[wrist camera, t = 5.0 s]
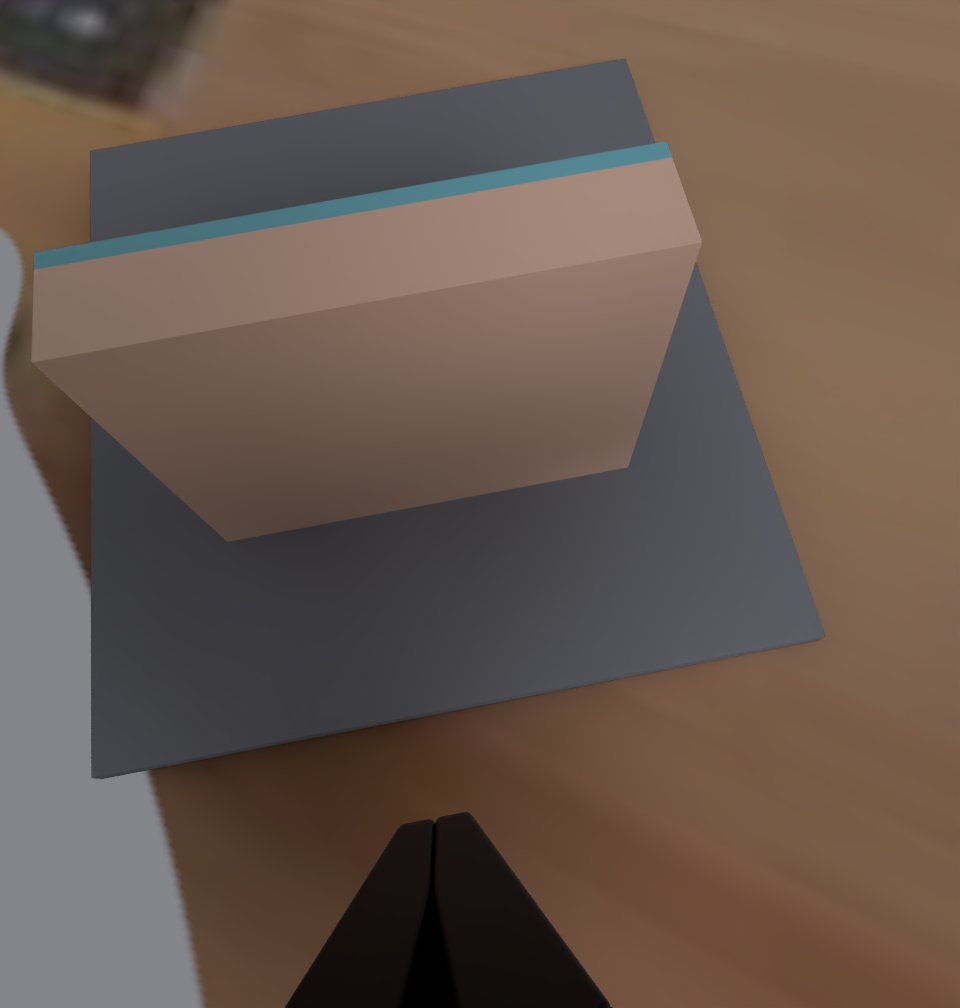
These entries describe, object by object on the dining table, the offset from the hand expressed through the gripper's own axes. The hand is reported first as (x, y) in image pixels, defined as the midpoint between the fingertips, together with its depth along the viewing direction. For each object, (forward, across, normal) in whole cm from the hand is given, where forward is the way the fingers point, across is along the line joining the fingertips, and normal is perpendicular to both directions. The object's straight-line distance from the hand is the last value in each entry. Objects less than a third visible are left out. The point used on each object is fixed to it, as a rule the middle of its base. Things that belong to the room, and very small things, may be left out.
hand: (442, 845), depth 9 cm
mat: (+18, 0, +1) cm, 19 cm away
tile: (+15, 0, -1) cm, 15 cm away
